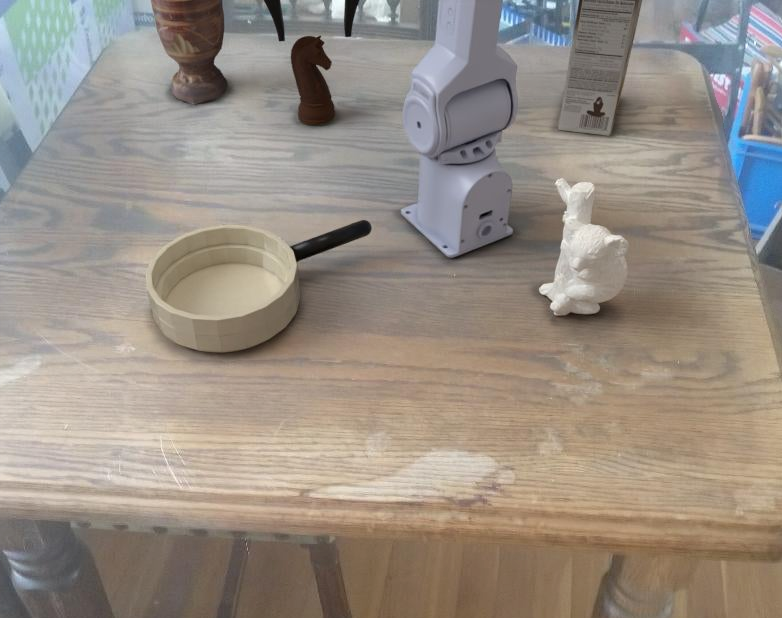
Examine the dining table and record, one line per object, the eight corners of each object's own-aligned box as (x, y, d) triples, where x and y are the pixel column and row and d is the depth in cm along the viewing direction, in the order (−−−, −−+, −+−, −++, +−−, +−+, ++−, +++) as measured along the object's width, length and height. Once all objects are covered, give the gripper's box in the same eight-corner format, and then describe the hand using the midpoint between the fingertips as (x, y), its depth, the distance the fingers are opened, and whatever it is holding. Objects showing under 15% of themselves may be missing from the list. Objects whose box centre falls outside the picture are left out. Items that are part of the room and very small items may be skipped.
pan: (325, 322, 81) (323, 284, 78) (188, 377, 77) (179, 340, 74) (260, 245, 90) (256, 208, 86) (134, 291, 86) (124, 254, 82)
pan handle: (288, 268, 83) (287, 255, 82) (281, 259, 84) (280, 246, 83) (374, 236, 86) (374, 222, 85) (366, 228, 87) (366, 214, 86)
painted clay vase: (151, 75, 116) (118, -88, 102) (210, 59, 119) (187, -103, 104) (181, 112, 109) (150, -58, 94) (243, 94, 111) (223, -74, 97)
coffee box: (567, 93, 108) (590, -43, 96) (620, 99, 106) (650, -39, 94) (556, 131, 102) (579, -10, 90) (612, 137, 100) (643, -5, 88)
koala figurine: (515, 290, 83) (532, 182, 74) (572, 268, 85) (595, 160, 76) (571, 343, 78) (596, 233, 69) (630, 318, 79) (662, 208, 70)
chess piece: (329, 128, 105) (325, 47, 97) (289, 123, 106) (282, 43, 99) (339, 109, 108) (337, 29, 100) (301, 105, 109) (295, 25, 101)
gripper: (374, -112, 93) (374, 16, 103) (239, -103, 93) (252, 24, 103) (379, -89, 88) (379, 43, 98) (237, -80, 88) (252, 51, 98)
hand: (314, 35), depth 100 cm, fingers open, 7 cm apart
